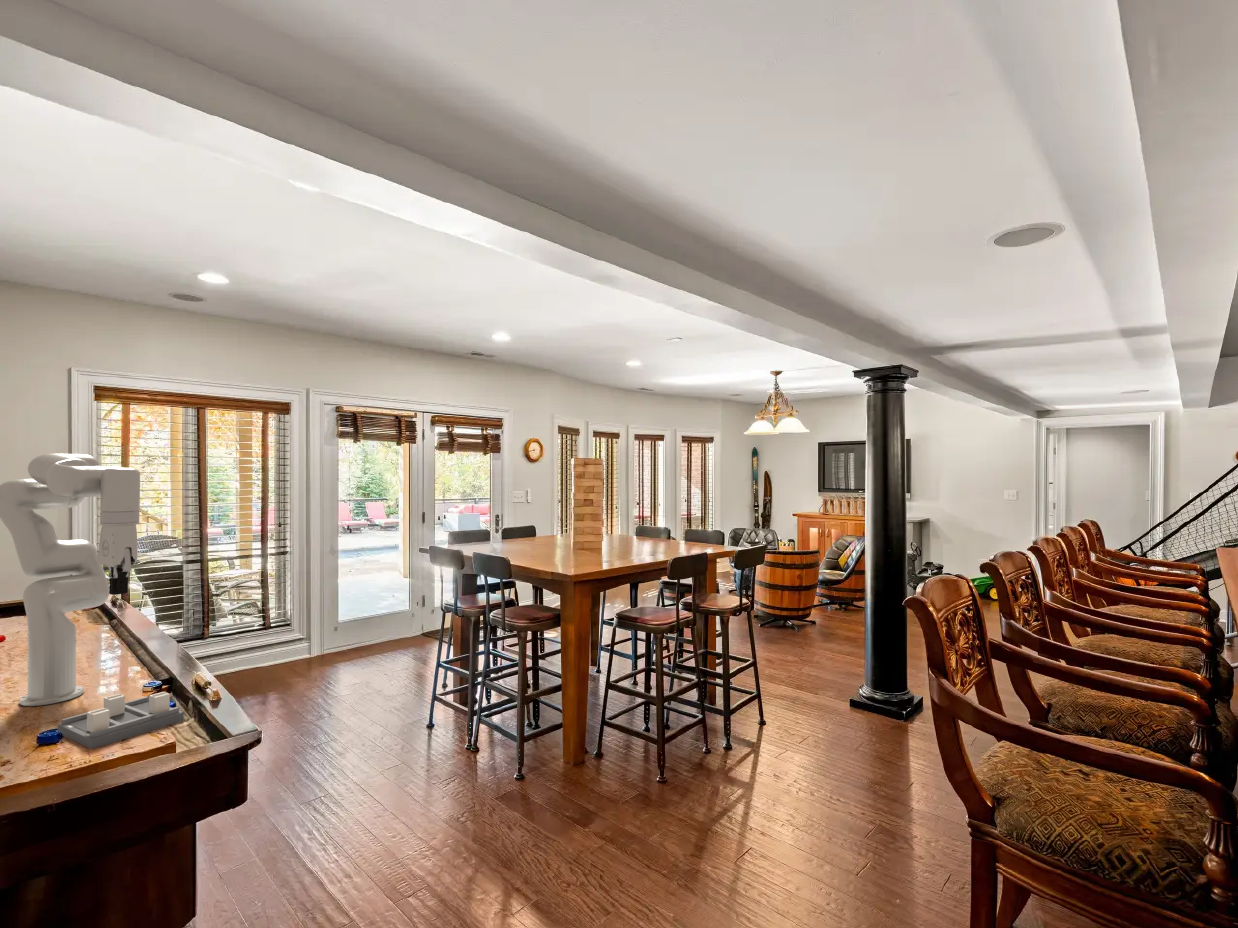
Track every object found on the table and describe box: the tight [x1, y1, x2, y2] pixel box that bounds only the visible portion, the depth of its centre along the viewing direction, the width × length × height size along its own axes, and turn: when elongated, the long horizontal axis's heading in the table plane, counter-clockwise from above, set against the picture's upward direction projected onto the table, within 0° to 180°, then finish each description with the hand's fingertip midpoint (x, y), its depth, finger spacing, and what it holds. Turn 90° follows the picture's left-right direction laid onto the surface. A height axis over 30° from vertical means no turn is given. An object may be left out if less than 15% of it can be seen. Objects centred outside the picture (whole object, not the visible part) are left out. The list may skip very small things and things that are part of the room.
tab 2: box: [103, 693, 126, 717], centre depth 149 cm, size 3×3×4 cm
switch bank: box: [57, 696, 185, 750], centre depth 147 cm, size 17×18×3 cm
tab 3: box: [148, 691, 171, 714], centre depth 151 cm, size 3×3×4 cm
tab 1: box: [86, 707, 110, 732], centre depth 140 cm, size 3×3×4 cm
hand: (118, 593), depth 154 cm, fingers closed
